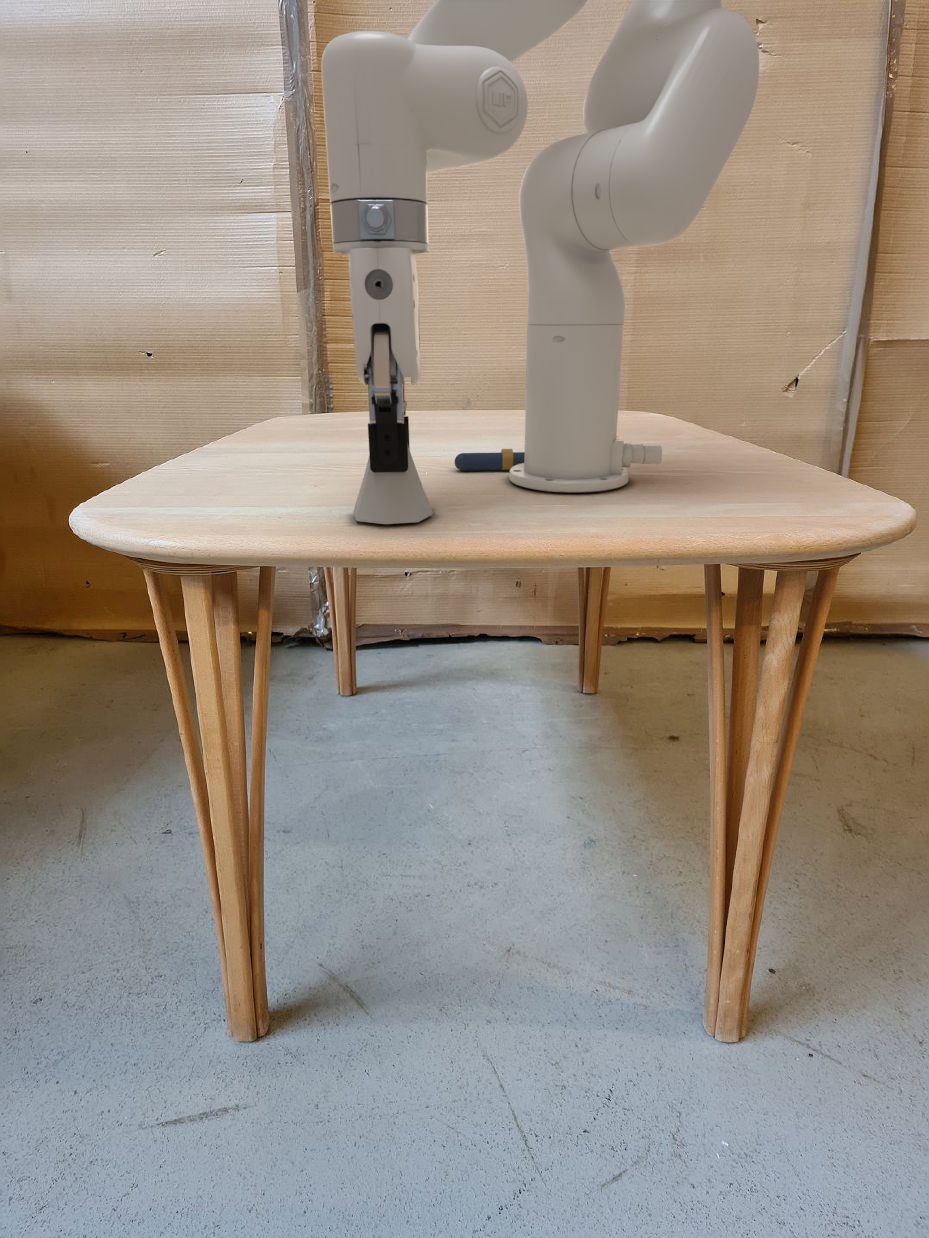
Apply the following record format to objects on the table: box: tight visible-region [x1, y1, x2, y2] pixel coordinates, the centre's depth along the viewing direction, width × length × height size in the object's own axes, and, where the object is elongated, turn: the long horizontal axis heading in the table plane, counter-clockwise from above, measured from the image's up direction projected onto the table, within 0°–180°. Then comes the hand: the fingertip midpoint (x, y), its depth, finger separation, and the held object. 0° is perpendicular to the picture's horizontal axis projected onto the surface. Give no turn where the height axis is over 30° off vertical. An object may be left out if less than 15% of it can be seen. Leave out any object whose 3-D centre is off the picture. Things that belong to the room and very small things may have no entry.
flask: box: [352, 399, 434, 525], centre depth 66 cm, size 7×7×10 cm
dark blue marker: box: [454, 448, 525, 472], centre depth 87 cm, size 12×2×2 cm, turn 92°
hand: (390, 464), depth 66 cm, fingers closed on flask, 3 cm apart
